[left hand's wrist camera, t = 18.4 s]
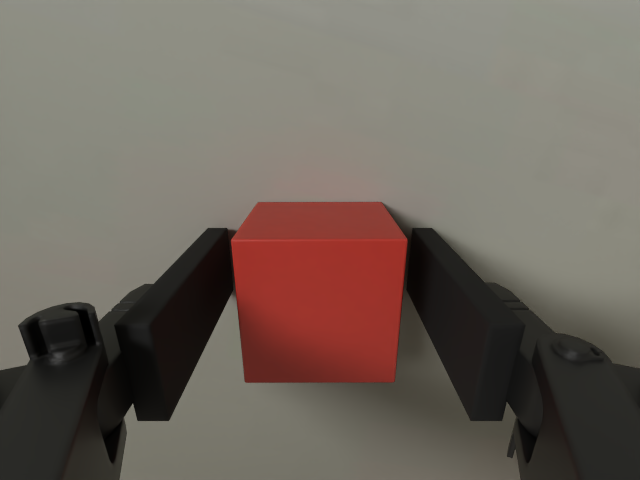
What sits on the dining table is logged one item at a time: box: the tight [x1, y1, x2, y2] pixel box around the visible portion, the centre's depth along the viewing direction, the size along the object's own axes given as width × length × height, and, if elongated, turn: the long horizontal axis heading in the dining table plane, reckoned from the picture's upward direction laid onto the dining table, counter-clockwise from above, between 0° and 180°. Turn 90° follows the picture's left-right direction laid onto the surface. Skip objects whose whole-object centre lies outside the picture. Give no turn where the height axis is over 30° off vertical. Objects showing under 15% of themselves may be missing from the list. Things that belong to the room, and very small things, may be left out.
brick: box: [231, 202, 408, 383], centre depth 12 cm, size 5×5×4 cm
